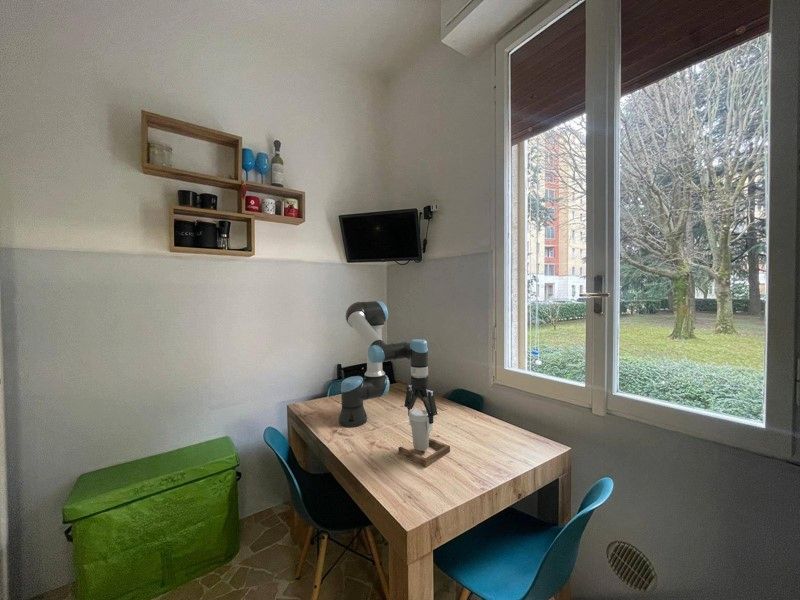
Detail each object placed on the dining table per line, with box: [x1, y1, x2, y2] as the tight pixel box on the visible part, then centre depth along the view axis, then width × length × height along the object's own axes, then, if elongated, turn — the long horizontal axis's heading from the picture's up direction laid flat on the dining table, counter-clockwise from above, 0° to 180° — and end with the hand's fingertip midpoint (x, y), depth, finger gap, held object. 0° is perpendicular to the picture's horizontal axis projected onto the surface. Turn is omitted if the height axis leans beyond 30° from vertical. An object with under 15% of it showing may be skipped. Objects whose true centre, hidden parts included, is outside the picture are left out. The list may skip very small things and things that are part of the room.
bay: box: [397, 437, 451, 468], centre depth 131 cm, size 16×16×2 cm
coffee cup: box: [408, 408, 431, 452], centre depth 132 cm, size 10×10×15 cm
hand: (420, 427), depth 132 cm, fingers closed on coffee cup, 9 cm apart
